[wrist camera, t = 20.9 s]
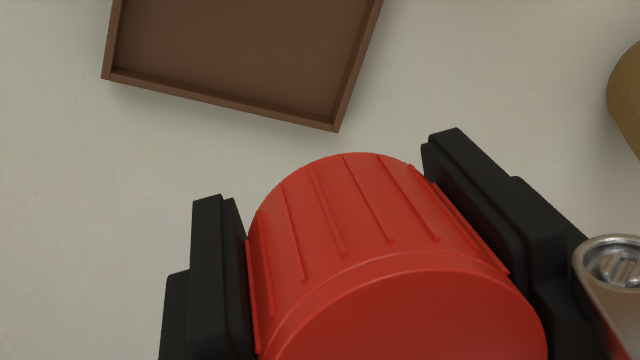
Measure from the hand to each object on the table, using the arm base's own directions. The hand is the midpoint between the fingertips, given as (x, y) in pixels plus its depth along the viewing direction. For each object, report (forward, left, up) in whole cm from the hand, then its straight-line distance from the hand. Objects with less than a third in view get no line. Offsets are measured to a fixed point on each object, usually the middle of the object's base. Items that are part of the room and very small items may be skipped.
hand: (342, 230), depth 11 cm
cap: (0, 0, +1) cm, 1 cm away
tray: (0, 0, -27) cm, 27 cm away
